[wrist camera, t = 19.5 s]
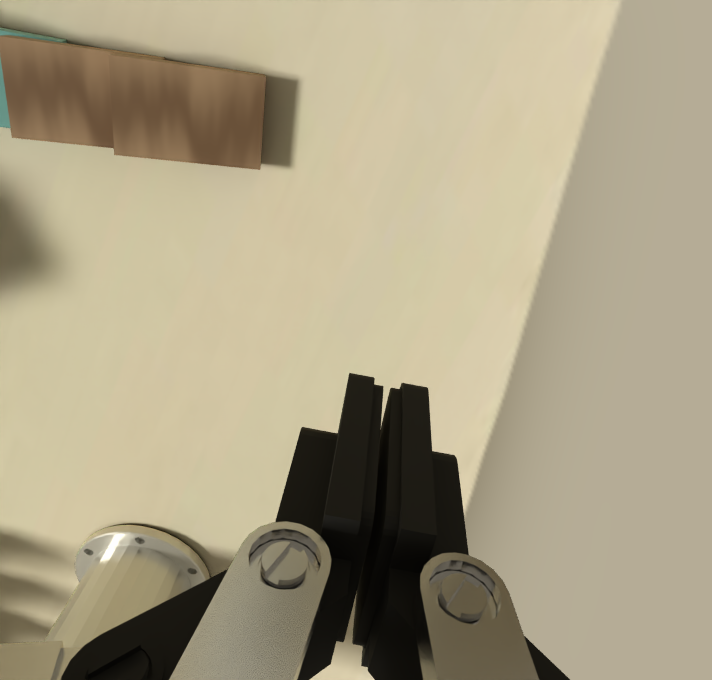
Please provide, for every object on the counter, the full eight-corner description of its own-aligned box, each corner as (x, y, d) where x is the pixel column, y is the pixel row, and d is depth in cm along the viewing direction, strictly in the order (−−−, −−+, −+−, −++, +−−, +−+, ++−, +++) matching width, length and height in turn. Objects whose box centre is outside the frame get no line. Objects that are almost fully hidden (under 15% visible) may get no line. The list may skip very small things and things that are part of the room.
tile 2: (164, 153, 33) (12, 137, 31) (166, 147, 34) (20, 132, 32) (162, 59, 30) (-3, 36, 28) (164, 57, 32) (7, 34, 30)
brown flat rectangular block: (260, 169, 33) (114, 154, 31) (258, 163, 34) (119, 148, 32) (265, 77, 30) (108, 54, 28) (264, 74, 32) (113, 52, 30)
